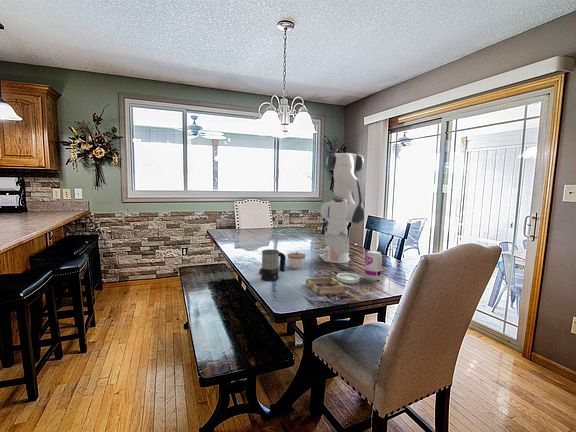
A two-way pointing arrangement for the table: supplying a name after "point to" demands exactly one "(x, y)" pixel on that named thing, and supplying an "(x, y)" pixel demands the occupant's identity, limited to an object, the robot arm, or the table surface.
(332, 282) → the wooden square frame
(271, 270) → the milk frother
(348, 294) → the table surface
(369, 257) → the soda can
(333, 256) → the ball
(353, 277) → the saucer
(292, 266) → the lidded jar
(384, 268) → the table surface
